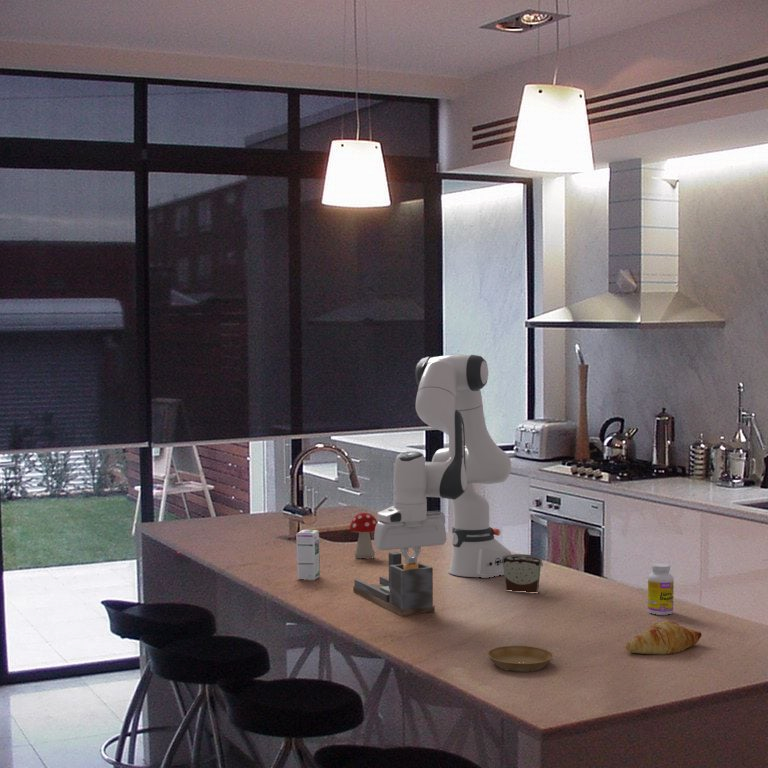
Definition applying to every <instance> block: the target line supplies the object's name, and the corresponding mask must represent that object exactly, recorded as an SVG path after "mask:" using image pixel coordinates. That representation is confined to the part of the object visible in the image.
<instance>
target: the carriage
mask: <svg viewBox="0 0 768 768" xmlns="http://www.w3.org/2000/svg"><path fill="white" fill-rule="evenodd" d="M398 564H403V562H402V553H401V552H398V551H393V552H392V551H391V552H388V579H389V586H385V587H380V590H382V591H384V592H386V593H388V594H390V566H389V565H398Z"/></svg>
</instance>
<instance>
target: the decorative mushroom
mask: <svg viewBox="0 0 768 768" xmlns="http://www.w3.org/2000/svg"><path fill="white" fill-rule="evenodd" d="M377 523H378V521H377V518H376V517H375V516H374V515H372V514H371V513H368V512H360V513H358V514H356V515H355V516H354V517H353V518H352V520H351V522H350V526H349V531H351V532H353V533H358V539H357V543H356V544H357V545H356V548H355V550H354V551H355V552H354V557H355V558H356V559H357V558H372V557H375V555H376V552H375V551H374V548H373V545H372V544H373V543H372V540H371V539H372V538H371V534H370V533H375V527H376V524H377ZM372 559H373V558H372Z"/></svg>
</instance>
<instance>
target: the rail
mask: <svg viewBox="0 0 768 768" xmlns="http://www.w3.org/2000/svg"><path fill="white" fill-rule="evenodd" d="M417 563H418V568H417V569H407V570H404V565H403V564H404V563H402V564H398V565H389V564H388V567H389V566H390V594H388V593H386V592H384V591H382V590H380V587H385V586H389V577H385V576H383V575H382V576H379V583H374V584H369V583H367V582H365V581H363V580H361V579H359V578H358V579H357V578H354V585H353V587H352V588H353V589H352V591H354V592H353V593H355V592H356V593H355V594H357V593H358V594H357V595H359V594H360V595H359V596H361V595H362V597H363V596H364V597H363V598H365V597H366V598H365V599H367V598H368V599H367V600H369V599H370V600H369V601H371V602H373V603H375V604H377V605H378V604H379V606H380V605H381V606H380V607H382V606H383V608H385V609H387V610H388V611H390V612H392V613H394V614H396V615H398V616H400V617H405V616H411V615H412V614H413V615H418V613H421V614H427V613H426V612H429V613H433V612H432V611H435V605H434V597H433V595H434V587H433V585H434V583H433V582H434V580H433V578H434V576H433V575H434V573H433V567H432V566H429V565H427V564H425V563H422V562H418V561H417ZM404 615H405V616H404Z"/></svg>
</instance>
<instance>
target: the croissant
mask: <svg viewBox="0 0 768 768" xmlns="http://www.w3.org/2000/svg"><path fill="white" fill-rule="evenodd" d="M701 637H702V632H700V631H698V630H694V629H691V628H686V627H684V626H683V625H682V626H681V625H679V624H678V623H677V622H674V621H669V620H662V621H659V622H656V623H654V624H652V625H651V626H650V627H649V628H646V629H645V630H643V631H642V633H641V634H639V635H636V636H634V637H633V638H632V639H631V641H629V642H626V643H625V646H624V647H625V650H626V651H627V652H629V653H634V654H641V655H642V654H643V655H644V654H646V655H669V654H670V655H671V654H676V653H675V652H678V653H681V652H683V651H685V650H687V649H688V648H691V647H693V646H695V645H696V644H697V643H698V642H699V640H700V639H701ZM680 651H681V652H680Z"/></svg>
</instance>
